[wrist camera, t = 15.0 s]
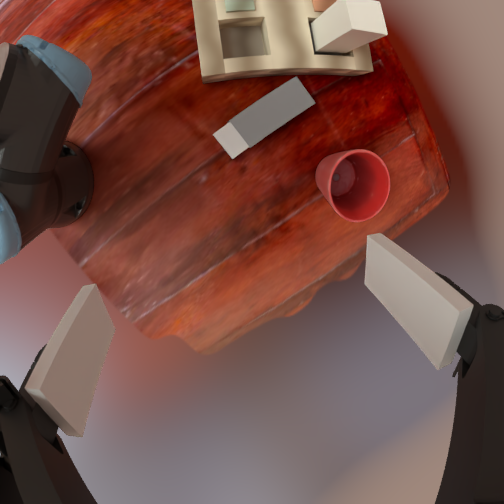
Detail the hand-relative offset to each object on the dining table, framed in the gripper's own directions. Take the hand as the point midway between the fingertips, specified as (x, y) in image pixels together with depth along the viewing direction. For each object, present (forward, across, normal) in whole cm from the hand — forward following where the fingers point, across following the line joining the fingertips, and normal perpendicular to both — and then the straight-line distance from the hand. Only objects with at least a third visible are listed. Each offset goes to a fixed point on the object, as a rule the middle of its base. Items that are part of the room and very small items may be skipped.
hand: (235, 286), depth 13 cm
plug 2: (+33, +19, +20) cm, 43 cm away
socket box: (+35, +13, +22) cm, 43 cm away
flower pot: (+35, +20, -3) cm, 40 cm away
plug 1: (+35, +8, +8) cm, 37 cm away
